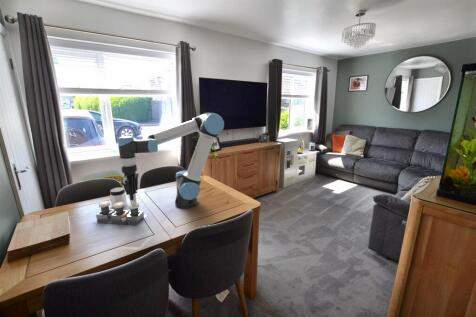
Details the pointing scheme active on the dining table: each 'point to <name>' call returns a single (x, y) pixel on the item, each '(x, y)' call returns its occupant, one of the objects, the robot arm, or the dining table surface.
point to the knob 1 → (104, 207)
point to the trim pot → (123, 218)
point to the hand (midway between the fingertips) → (133, 204)
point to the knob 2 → (134, 209)
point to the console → (119, 218)
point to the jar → (117, 196)
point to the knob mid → (119, 208)
